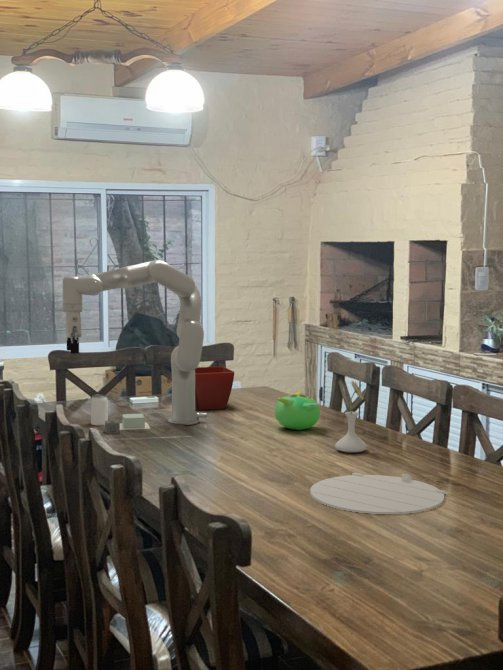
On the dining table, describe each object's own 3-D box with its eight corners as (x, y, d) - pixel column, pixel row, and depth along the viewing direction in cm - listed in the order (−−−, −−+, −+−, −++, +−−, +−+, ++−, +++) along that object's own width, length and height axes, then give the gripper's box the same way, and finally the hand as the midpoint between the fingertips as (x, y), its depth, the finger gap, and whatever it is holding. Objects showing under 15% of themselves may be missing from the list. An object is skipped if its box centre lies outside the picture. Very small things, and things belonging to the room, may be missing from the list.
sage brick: (142, 423, 361) (142, 413, 361) (144, 427, 354) (144, 417, 353) (122, 424, 360) (122, 414, 359) (124, 428, 352) (124, 418, 351)
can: (106, 427, 357) (105, 397, 356) (89, 427, 357) (89, 397, 356) (109, 424, 364) (108, 394, 362) (92, 423, 364) (92, 394, 363)
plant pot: (182, 404, 408) (182, 367, 406) (223, 402, 414) (223, 366, 412) (192, 412, 390) (192, 373, 388) (234, 410, 396) (235, 372, 394)
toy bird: (320, 425, 365) (321, 389, 364) (319, 434, 348) (320, 397, 347) (275, 424, 367) (276, 388, 365) (272, 433, 350) (273, 395, 349)
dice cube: (106, 436, 342) (106, 423, 341) (104, 433, 347) (104, 420, 346) (119, 435, 343) (119, 422, 343) (118, 432, 348) (118, 420, 348)
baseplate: (146, 424, 364) (146, 422, 364) (150, 430, 352) (150, 428, 352) (116, 425, 361) (116, 423, 361) (119, 431, 350) (119, 429, 349)
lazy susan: (357, 471, 296) (358, 461, 296) (468, 493, 271) (469, 482, 271) (283, 497, 265) (283, 486, 265) (400, 525, 241) (401, 513, 240)
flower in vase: (365, 455, 316) (367, 384, 313) (333, 453, 318) (334, 383, 315) (368, 447, 328) (370, 379, 326) (337, 445, 330) (338, 377, 328)
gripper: (86, 309, 345) (86, 354, 347) (78, 306, 361) (78, 348, 363) (66, 310, 342) (66, 354, 344) (59, 306, 359) (59, 349, 360)
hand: (72, 351), depth 354 cm, fingers open, 9 cm apart
